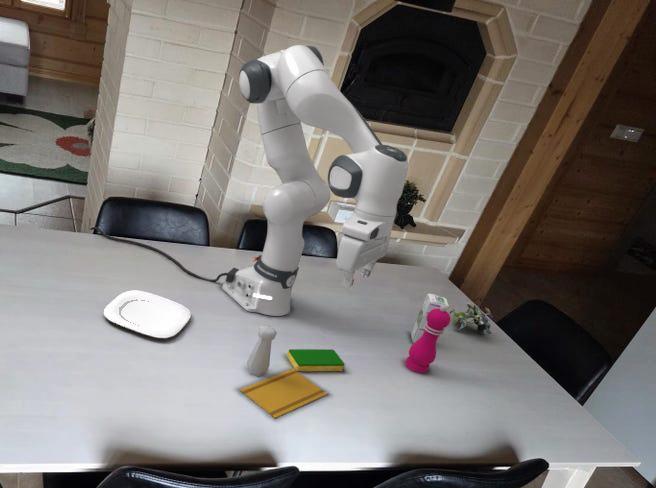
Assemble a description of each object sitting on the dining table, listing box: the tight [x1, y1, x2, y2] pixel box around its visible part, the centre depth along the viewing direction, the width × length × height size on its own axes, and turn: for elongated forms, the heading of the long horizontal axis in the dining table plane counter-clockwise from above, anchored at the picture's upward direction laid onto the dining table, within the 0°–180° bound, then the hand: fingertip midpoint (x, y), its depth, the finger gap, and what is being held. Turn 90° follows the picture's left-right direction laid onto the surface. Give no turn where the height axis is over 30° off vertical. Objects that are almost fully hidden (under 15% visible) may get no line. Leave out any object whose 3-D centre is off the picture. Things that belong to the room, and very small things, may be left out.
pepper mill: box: [405, 305, 451, 374], centre depth 177 cm, size 7×7×20 cm
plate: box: [103, 289, 192, 340], centre depth 178 cm, size 22×22×2 cm
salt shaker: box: [246, 325, 277, 377], centre depth 162 cm, size 6×6×13 cm
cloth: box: [239, 368, 328, 419], centre depth 160 cm, size 12×20×1 cm, turn 130°
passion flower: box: [449, 301, 493, 336], centre depth 205 cm, size 11×11×12 cm
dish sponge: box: [286, 348, 346, 372], centre depth 173 cm, size 7×14×2 cm, turn 105°
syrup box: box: [410, 292, 450, 344], centre depth 192 cm, size 6×6×14 cm
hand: (356, 281), depth 149 cm, fingers open, 8 cm apart
